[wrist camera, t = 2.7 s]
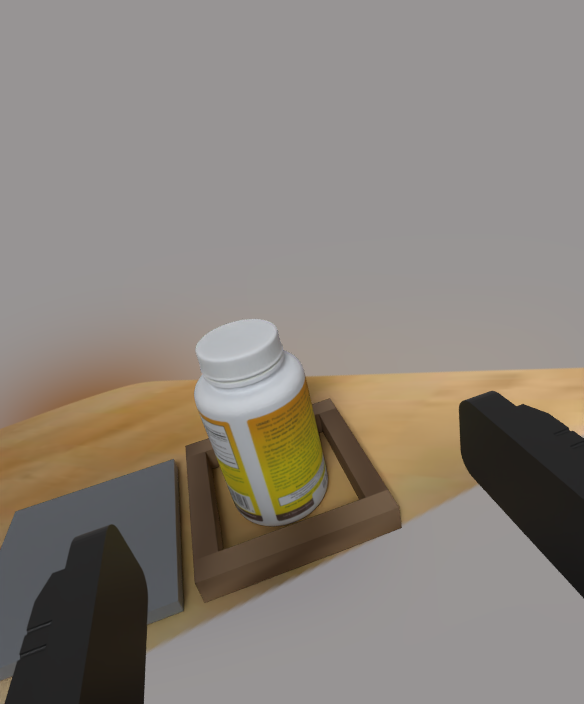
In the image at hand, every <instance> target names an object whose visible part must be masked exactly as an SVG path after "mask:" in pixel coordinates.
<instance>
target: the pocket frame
mask: <svg viewBox="0 0 584 704" xmlns="http://www.w3.org/2000/svg"><path fill="white" fill-rule="evenodd" d="M312 407H313V412H314V416H315V421H316V425H317V430H318V433H319V432H322V431H323V433H324V435H325V437H326V438H327V440H328V442H329V444H330V446H331V448H332V450H333V451H334V453H335V455H336V457H337V459H338V461H339V463H340V464H341V466H342V468H343V470H344V472H345V474H346V476H347V477H348V479H349V481H350V483H351V485H352V487H353V489H354V490H355V492H356V494H357V496H358V498H359V500H358V501H355V502H353V503H350V504H347V505H344V506H342V507H339V508H336V509H333V510H331V511H328V512H325V513H323V514H320V515H317V516H314V517H312V518H309V519H306V520H303V521H301V522H298V523H295V524H292V525H290V526H287V527H284V528H282V529H279V530H276V531H273V532H271V533H268V534H265V535H262V536H260V537H257V538H254V539H251V540H249V541H246V542H243V543H241V544H238V545H235V546H232V547H230V548H227V549H224V550H223V543H222V536H221V529H220V522H219V515H218V508H217V501H216V494H215V487H214V480H213V473H212V469H213V468H216V467H219V466H220V465H219V463H218V460H217V457H216V455H215V452H214V450H213V447H212V445H211V442H210V439H209V438H208V439H205V440H202V441H199V442H196V443H193V444H190V445H187V446H186V461H187V475H188V490H189V504H190V519H191V534H192V548H193V563H194V577H195V585H196V587H197V588H198V590H199V592H200V594H201V596H202V598H203V600H204V602H205V603H206V602H208V601H211V600H213V599H216V598H219V597H221V596H224V595H227V594H229V593H232V592H235V591H237V590H240V589H242V588H245V587H248V586H250V585H253V584H256V583H258V582H261V581H263V580H266V579H269V578H271V577H274V576H277V575H279V574H282V573H284V572H287V571H290V570H292V569H295V568H298V567H300V566H303V565H305V564H308V563H311V562H313V561H316V560H319V559H321V558H324V557H326V556H329V555H332V554H334V553H337V552H340V551H342V550H345V549H347V548H350V547H353V546H355V545H358V544H361V543H363V542H366V541H369V540H371V539H374V538H376V537H379V536H382V535H384V534H387V533H390V532H392V531H395V530H397V529H400V528H402V527H401V518H400V510H399V506H398V504H397V503H396V501H395V500H394V498H393V497H392V495H391V493H390V492H389V490H388V489H387V487H386V486H385V484H384V482H383V481H382V479H381V478H380V476H379V475H378V473H377V471H376V470H375V468H374V467H373V465H372V464H371V462H370V460H369V459H368V457H367V456H366V454H365V453H364V451H363V449H362V448H361V446H360V445H359V443H358V442H357V440H356V438H355V437H354V435H353V434H352V432H351V431H350V429H349V427H348V426H347V424H346V423H345V421H344V420H343V418H342V416H341V415H340V413H339V412H338V410H337V409H336V407H335V405H334V404H333V402H332V401H331V399H327V400H324V401H321V402H318V403H315V404H312Z"/></svg>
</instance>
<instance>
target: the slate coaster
mask: <svg viewBox="0 0 584 704" xmlns="http://www.w3.org/2000/svg"><path fill="white" fill-rule="evenodd" d="M111 524H113V525H115V526H116V527H117V528H118V530H119V531H120V533H121V535H122V536H123V538H124V540H125V541H126V543H127V545H128V546H129V548H130V550H131V551H132V553H133V555H134V556H135V558H136V560H137V561H138V563H139V565H140V566H141V568H142V570H143V573H144V575H145V579H146V583H147V589H148V616H147V625H148V624H150V623H153V622H156V621H158V620H161V619H164V618H166V617H169V616H171V615H174V614H177V613H179V612H182V611H184V607H183V582H182V558H181V533H180V509H179V484H178V467H177V465H176V463H175V460H174V459H172V460H169V461H166V462H163V463H160V464H157V465H154V466H151V467H148V468H145V469H142V470H139V471H136V472H133V473H130V474H127V475H124V476H121V477H118V478H115V479H112V480H109V481H106V482H103V483H100V484H97V485H94V486H91V487H88V488H85V489H82V490H79V491H76V492H73V493H70V494H67V495H64V496H61V497H58V498H55V499H52V500H49V501H46V502H43V503H40V504H37V505H34V506H31V507H28V508H25V509H22V510H19V511H16V512H15V514H14V517H13V519H12V522H11V524H10V527H9V529H8V532H7V534H6V537H5V539H4V542H3V544H2V547H1V549H0V681H1V680H3V679H6V678H9V677H11V676H13V674H14V670H15V667H16V663H17V661H18V660H20V655H19V653H20V650H21V646H22V643H23V639H24V636H25V635H27V630H26V629H27V626H28V622H29V619H30V615H31V612H32V608H33V605H34V602H35V600H36V598H37V597H38V595H39V593H40V592H41V590H42V589H43V587H44V586H45V584H46V582H47V581H48V579H49V578H50V576H51V574H52V573H54V572H57V571H60V570H62V569H65V566H66V562H67V558H68V553H69V549H70V545H71V542H72V540H73V539H74V538H75V537H77V536H79V535H82V534H85V533H88V532H91V531H94V530H96V529H99V528H102V527H105V526H108V525H111Z"/></svg>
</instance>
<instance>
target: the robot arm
mask: <svg viewBox="0 0 584 704" xmlns="http://www.w3.org/2000/svg"><path fill="white" fill-rule="evenodd" d="M459 421H460V445H461V455H462V459H463V461H464V464H465V466H466V468H467V470H468V471H469V473H470V474H471V476H472V477H473V478H474V479H475V480H476V481H477V482H478V484H479V485H480V486H481V487H482V488H483V489H484V490H485V491H486V492H487V493H488V494H489V495H490V497H491V498H492V499H493V500H494V501H495V502H496V503H497V504H498V505H499V506H500V508H502V510H503V511H504V512H505V513H506V514H507V515H508V516H509V517H510V518H511V519H512V521H513V522H514V523H515V524H516V525H517V526H518V527H519V528H520V529H521V530H522V532H523V533H524V534H525V535H526V536H527V537H528V538H529V539H530V540H531V541H532V542H533V543H534V544H535V546H536V547H537V548H538V549H539V550H540V551H541V552H542V553H543V554H544V555H545V557H546V558H547V559H548V560H549V561H550V562H551V563H552V564H553V565H554V566H555V567H556V569H557V570H558V571H559V572H560V573H561V574H562V575H563V576H564V577H565V578H566V579H567V580H568V582H569V583H570V584H571V585H572V586H573V587H574V588H575V589H576V590H577V591H578V592H579V593H580V595H581V596H582V597H583V598H584V438H582V437H581V436H580V435H578V434H577V433H575V432H574V431H570V430H569V428H568V427H567V426H565V425H564V424H563V423H561V422H560V421H558V420H557V419H556V418H554V417H553V416H551V415H550V414H548V413H546V412H543V411H540V410H538V409H535V408H532V407H530V406H527V405H524V404H522V405H519V406H515V405H514V404H512V403H511V402H510V401H508V400H507V399H506V398H504V397H503V396H502V395H500V394H499V393H497V392H495V391H490V392H487V393H484V394H481V395H478V396H476V397H473V398H470V399H467V400H464V401H462V402H461V403H460V405H459ZM147 616H148V589H147V583H146V579H145V575H144V573H143V570H142V568H141V566H140V565H139V563H138V561H137V560H136V558H135V556H134V555H133V553H132V551H131V550H130V548H129V546H128V545H127V543H126V541H125V540H124V538H123V536H122V535H121V533H120V531H119V530H118V528H117V527H116V526H115V525H113V524H111V525H108V526H105V527H102V528H99V529H96V530H94V531H91V532H88V533H85V534H82V535H79V536H77V537H75V538H74V539H73V540H72V542H71V545H70V549H69V553H68V558H67V562H66V566H65V569H62V570H60V571H57V572H54V573H52V574H51V576H50V578H49V579H48V581H47V582H46V584H45V586H44V587H43V589H42V590H41V592H40V593H39V595H38V597H37V598H36V600H35V602H34V605H33V608H32V612H31V615H30V619H29V622H28V626H27V629H26V630H27V635H25V636H24V639H23V643H22V646H21V650H20V653H19V655H20V660H18V661H17V663H16V667H15V670H14V674H13V677H12V680H11V684H10V687H9V691H8V694H7V697H6V701H5V704H144V685H145V661H146V639H147Z"/></svg>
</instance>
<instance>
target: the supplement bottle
mask: <svg viewBox="0 0 584 704" xmlns="http://www.w3.org/2000/svg"><path fill="white" fill-rule="evenodd" d="M196 355H197V358H198V361H199V364H200V370H201V372H202V376H201V377H200V379H199V380H198V382H197V384H196V387H195V391H194V397H195V402H196V406H197V409H198V411H199V414H200V416H201V419H202V421H203V424H204V427H205V429H206V432H207V434H208V437H209V439H210V442H211V445H212V447H213V450H214V452H215V455H216V457H217V460H218V463H219V465H220V467H221V470H222V473H223V475H224V478H225V481H226V483H227V486H228V488H229V491H230V493H231V496H232V498H233V501H234V503H235V505H236V507H237V509H238V511H239V512H240V513H241V514H242V515H243V516H244V517H245V518H246V519H248V520H249V521H251V522H253V523H256V524H259V525H263V526H282V525H287V524H291V523H293V522H296V521H298V520H300V519H302V518H304V517H305V516H307V515H308V514H310V513H311V512H312V511H313V510H314V509H315V508H316V507H317V506H318V505H319V504H320V502H321V500H322V499H323V497H324V495H325V492H326V489H327V484H328V476H327V469H326V465H325V461H324V456H323V452H322V447H321V443H320V438H319V434H318V430H317V425H316V421H315V416H314V412H313V407H312V403H311V399H310V395H309V390H308V386H307V382H306V377H305V373H304V369H303V367H302V364H301V362H300V361H299V360H298V358H297V357H295V356H294V355H293V354H291V353H289V352H287V351H284V350H283V346H282V344H281V342H280V338H279V334H278V330H277V328H276V326H275V325H274V324H273V323H271V322H269V321H266V320H261V319H246V320H240V321H235V322H231V323H228V324H225V325H223V326H220V327H218V328H216V329H214V330H212V331H210V332H209V333H207V334H206V335H205V336H204V337H202V338H201V339H200V341H199V342H198V344H197V346H196Z"/></svg>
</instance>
